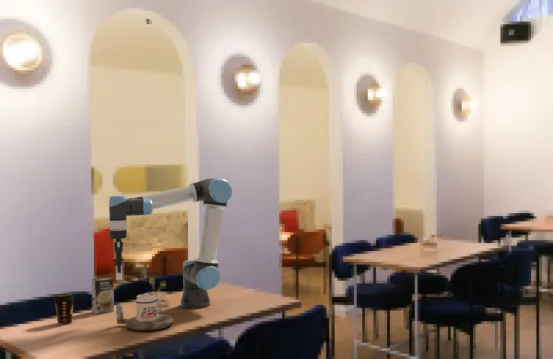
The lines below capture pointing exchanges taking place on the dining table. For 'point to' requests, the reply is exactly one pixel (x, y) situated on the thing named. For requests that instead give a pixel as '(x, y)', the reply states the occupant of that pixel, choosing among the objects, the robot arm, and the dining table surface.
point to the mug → (152, 296)
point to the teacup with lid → (147, 308)
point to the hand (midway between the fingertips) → (119, 277)
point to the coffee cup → (64, 308)
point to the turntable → (133, 324)
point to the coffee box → (102, 295)
